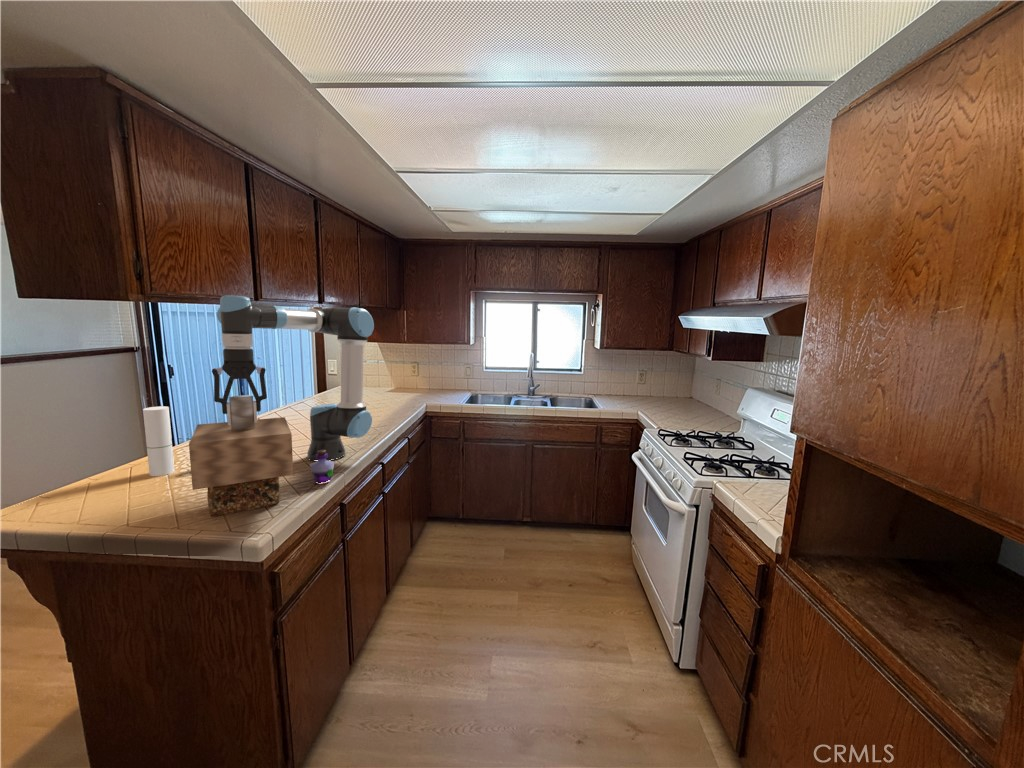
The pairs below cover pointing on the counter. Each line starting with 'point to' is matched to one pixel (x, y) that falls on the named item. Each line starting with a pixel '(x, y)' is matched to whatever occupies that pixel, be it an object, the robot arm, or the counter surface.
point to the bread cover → (240, 448)
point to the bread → (243, 496)
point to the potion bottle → (322, 467)
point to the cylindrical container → (158, 440)
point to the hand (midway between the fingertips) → (242, 422)
